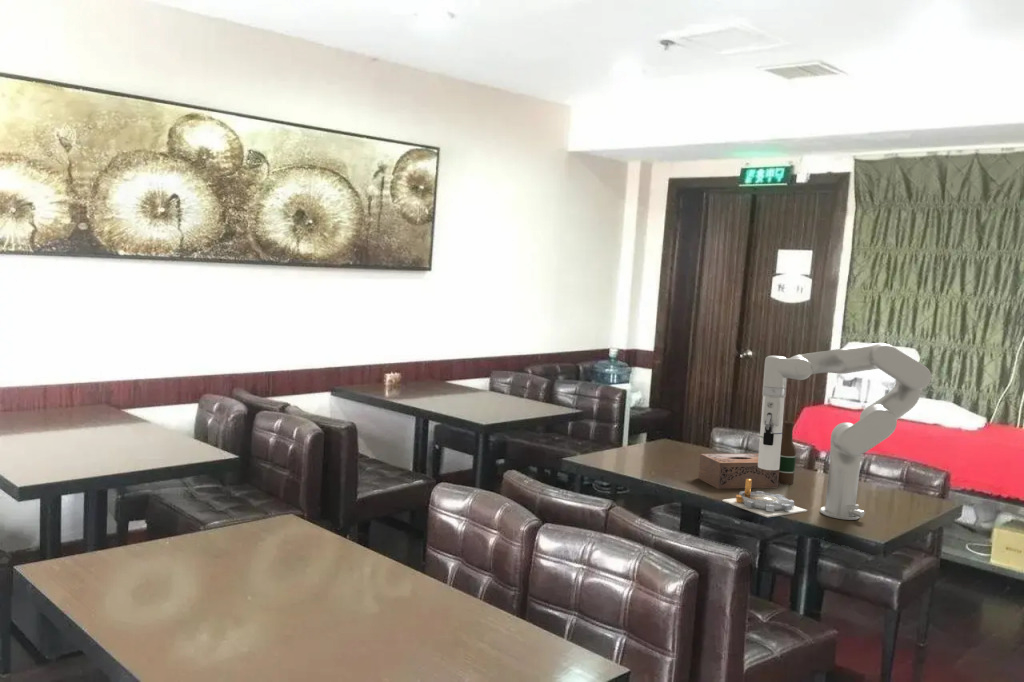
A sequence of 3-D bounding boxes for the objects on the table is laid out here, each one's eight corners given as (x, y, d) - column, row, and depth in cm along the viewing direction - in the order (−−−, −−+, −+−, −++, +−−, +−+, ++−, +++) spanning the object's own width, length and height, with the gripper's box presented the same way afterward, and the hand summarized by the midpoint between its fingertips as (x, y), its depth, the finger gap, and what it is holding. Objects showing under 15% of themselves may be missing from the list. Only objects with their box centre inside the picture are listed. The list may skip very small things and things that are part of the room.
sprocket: (786, 498, 293) (788, 476, 293) (799, 514, 274) (801, 490, 274) (731, 493, 295) (733, 472, 295) (740, 508, 276) (742, 485, 276)
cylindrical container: (775, 471, 279) (781, 398, 277) (755, 467, 283) (760, 395, 281) (781, 467, 285) (787, 396, 283) (761, 464, 289) (766, 393, 287)
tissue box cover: (756, 478, 327) (758, 453, 326) (777, 488, 313) (780, 462, 312) (698, 479, 319) (700, 453, 319) (717, 489, 306) (719, 462, 305)
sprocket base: (807, 511, 282) (807, 510, 282) (767, 517, 271) (767, 516, 271) (761, 495, 299) (761, 494, 299) (722, 501, 288) (722, 499, 288)
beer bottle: (771, 478, 327) (777, 419, 325) (792, 480, 326) (797, 420, 324) (773, 483, 320) (779, 422, 317) (794, 485, 318) (800, 424, 316)
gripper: (780, 395, 272) (776, 448, 274) (790, 390, 288) (786, 440, 289) (757, 393, 276) (753, 445, 277) (767, 388, 291) (764, 437, 292)
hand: (770, 442), depth 283 cm, fingers closed on cylindrical container, 7 cm apart
